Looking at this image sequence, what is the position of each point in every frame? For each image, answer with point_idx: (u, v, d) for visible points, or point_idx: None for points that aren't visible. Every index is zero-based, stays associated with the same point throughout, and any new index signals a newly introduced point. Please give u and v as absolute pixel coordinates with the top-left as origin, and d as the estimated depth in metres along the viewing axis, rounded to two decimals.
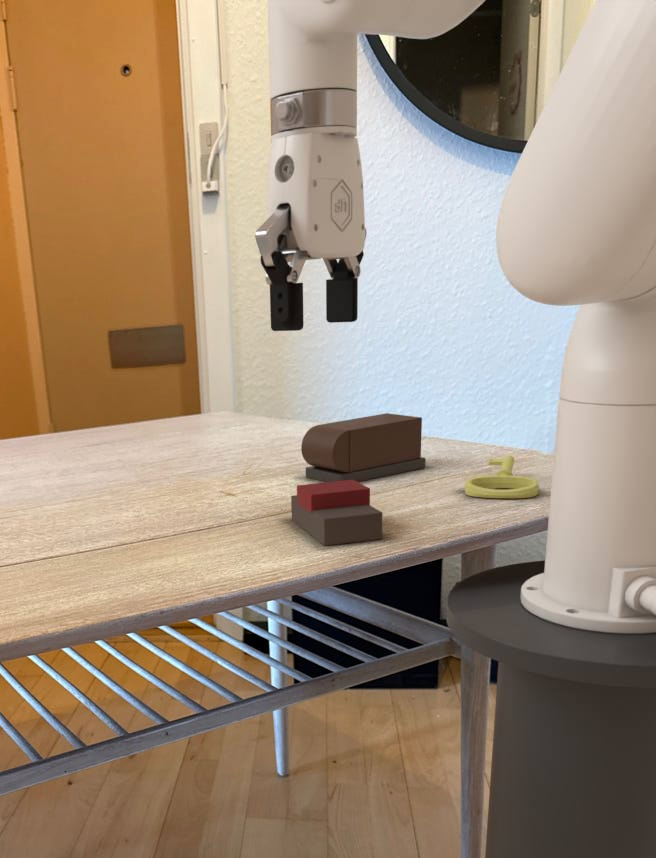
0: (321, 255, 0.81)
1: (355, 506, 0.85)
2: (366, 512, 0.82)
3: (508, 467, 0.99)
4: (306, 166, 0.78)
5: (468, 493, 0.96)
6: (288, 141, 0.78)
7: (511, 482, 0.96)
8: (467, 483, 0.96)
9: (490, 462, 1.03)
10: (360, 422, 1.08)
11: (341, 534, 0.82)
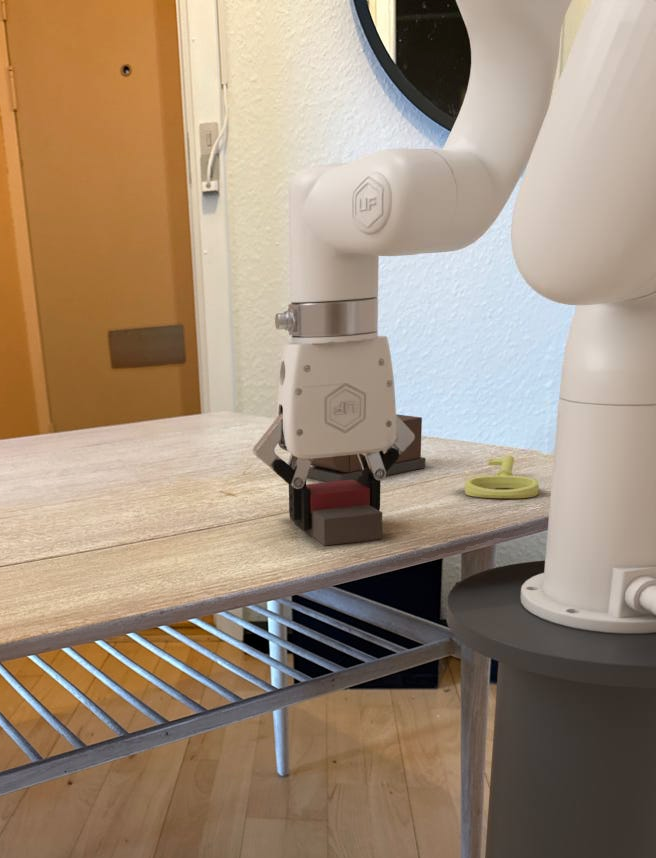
0: (310, 457, 0.82)
1: (355, 506, 0.85)
2: (366, 512, 0.82)
3: (508, 467, 0.99)
4: (291, 375, 0.79)
5: (468, 493, 0.96)
6: (285, 349, 0.80)
7: (511, 482, 0.96)
8: (467, 483, 0.96)
9: (490, 462, 1.03)
10: None
11: (341, 534, 0.82)
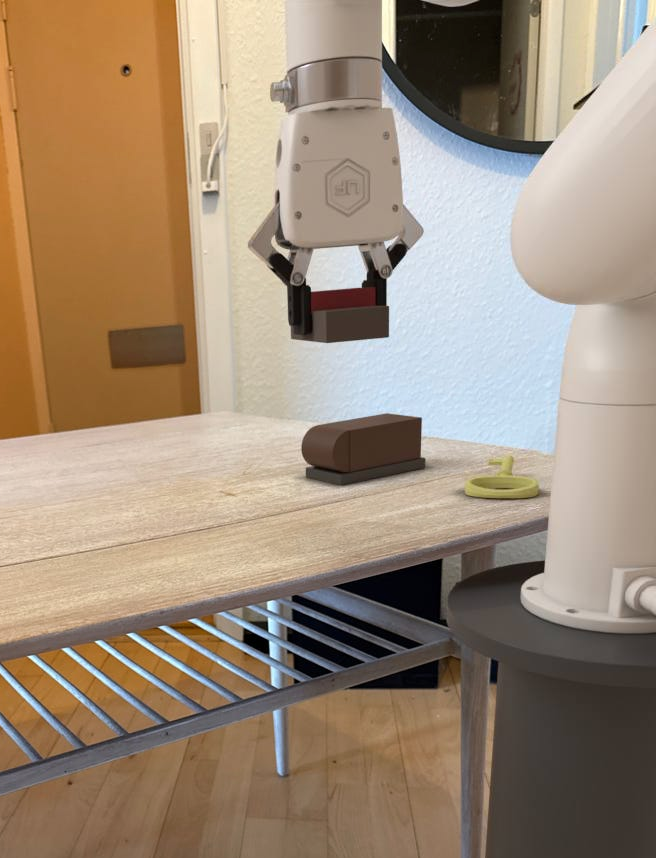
0: (310, 245, 0.75)
1: (359, 306, 0.78)
2: None
3: (508, 467, 0.99)
4: (288, 150, 0.73)
5: (468, 493, 0.96)
6: (282, 124, 0.74)
7: (511, 482, 0.96)
8: (467, 483, 0.96)
9: (490, 462, 1.03)
10: (360, 422, 1.08)
11: (344, 330, 0.75)
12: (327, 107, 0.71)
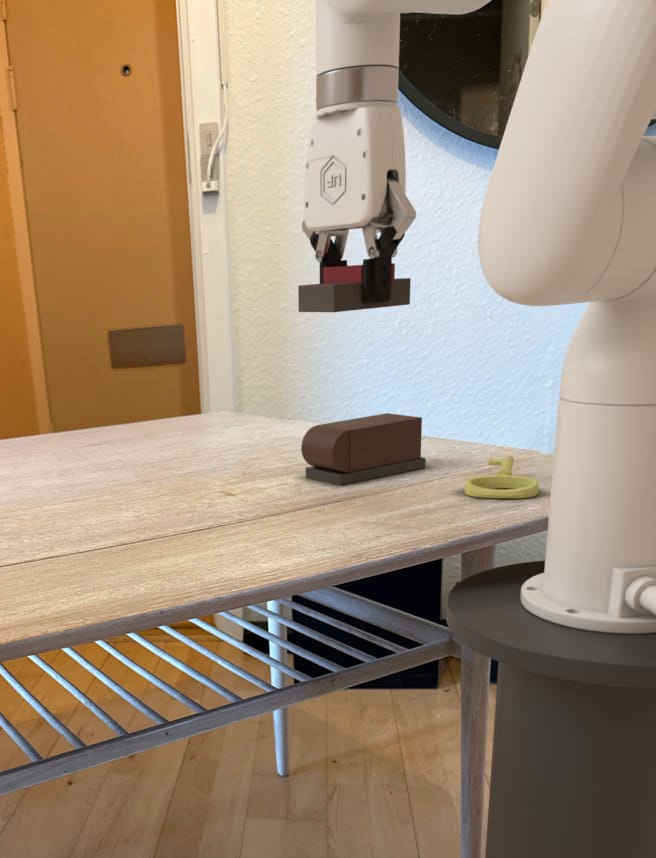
0: (314, 229, 0.91)
1: (348, 282, 0.90)
2: (330, 284, 0.89)
3: (508, 467, 0.99)
4: None
5: (468, 493, 0.96)
6: None
7: (511, 482, 0.96)
8: (467, 483, 0.96)
9: (490, 462, 1.03)
10: (360, 422, 1.08)
11: (308, 302, 0.91)
12: (317, 115, 0.86)
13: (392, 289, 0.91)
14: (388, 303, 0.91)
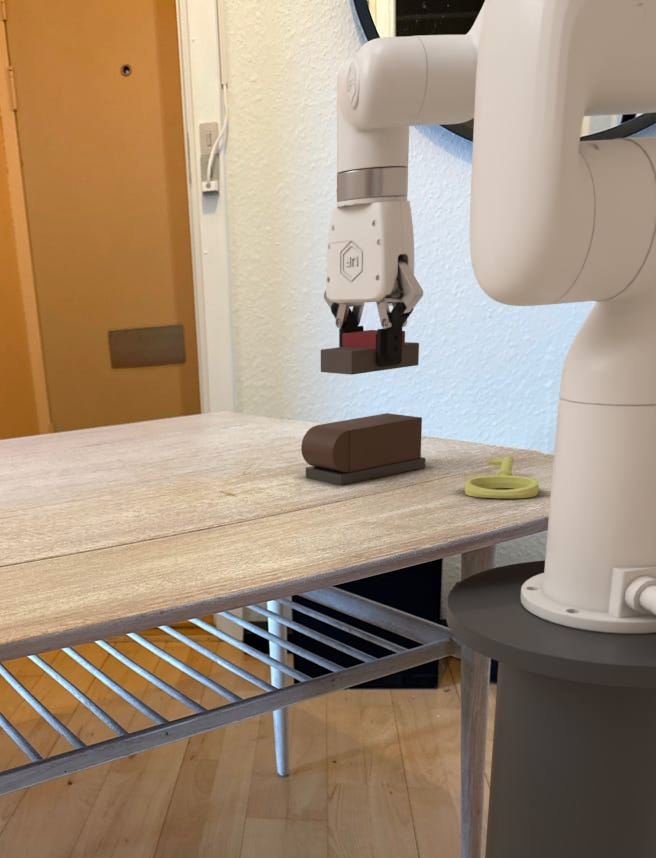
0: (334, 301, 1.05)
1: (364, 348, 1.03)
2: (349, 350, 1.02)
3: (507, 467, 0.99)
4: None
5: (468, 493, 0.96)
6: None
7: (511, 482, 0.96)
8: (467, 483, 0.96)
9: (490, 462, 1.03)
10: (360, 422, 1.08)
11: (329, 364, 1.04)
12: (337, 206, 0.99)
13: (403, 353, 1.04)
14: (399, 365, 1.05)
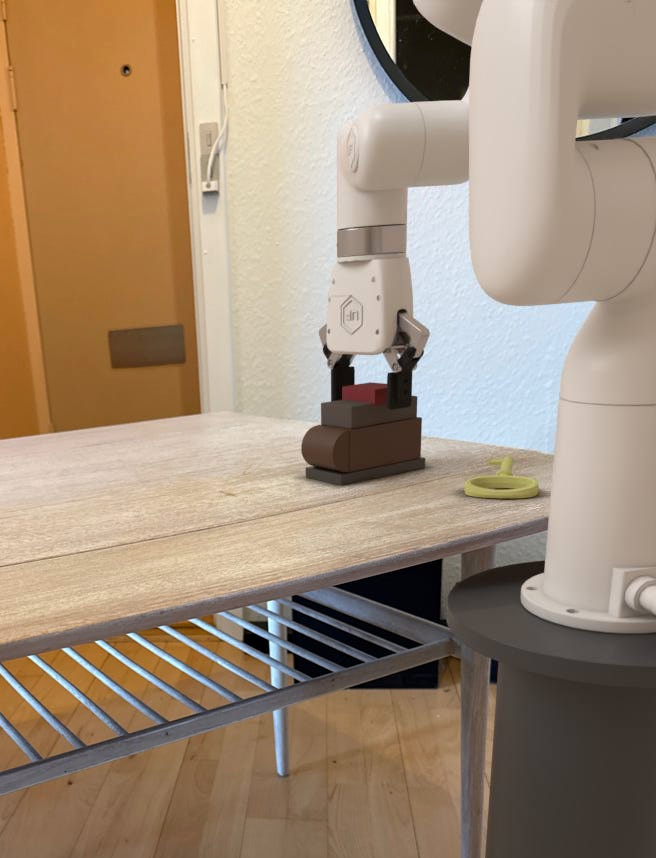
0: (335, 352, 1.06)
1: (363, 402, 1.05)
2: (348, 405, 1.04)
3: (507, 467, 0.99)
4: None
5: (468, 493, 0.96)
6: None
7: (511, 482, 0.96)
8: (467, 483, 0.96)
9: (489, 462, 1.03)
10: None
11: (329, 418, 1.06)
12: (337, 261, 1.01)
13: None
14: (398, 418, 1.07)
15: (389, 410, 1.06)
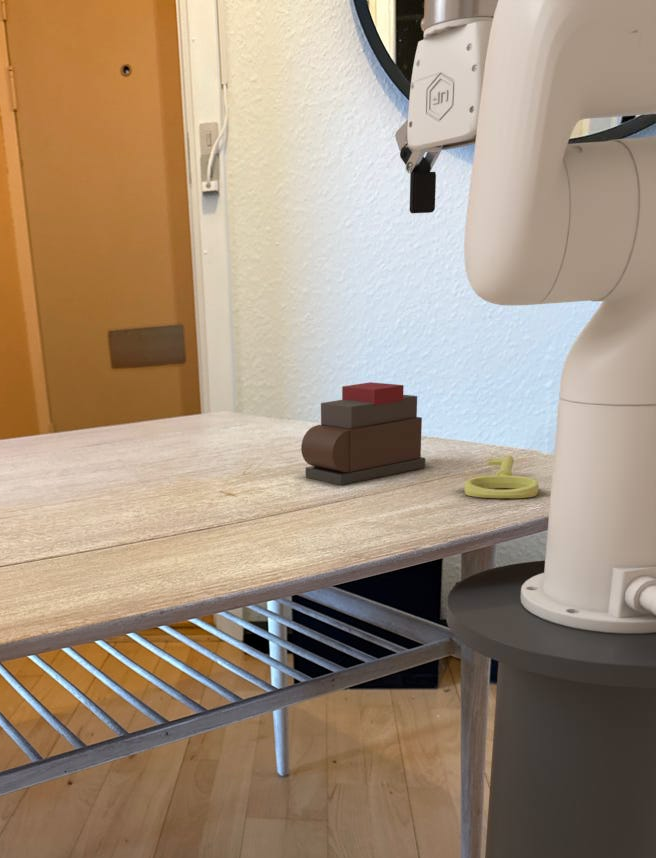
0: (417, 147, 0.95)
1: (363, 402, 1.05)
2: (348, 405, 1.04)
3: (507, 467, 0.99)
4: None
5: (468, 493, 0.96)
6: None
7: (511, 482, 0.96)
8: (467, 483, 0.96)
9: (489, 462, 1.03)
10: None
11: (329, 418, 1.06)
12: (425, 34, 0.90)
13: (401, 406, 1.06)
14: (398, 418, 1.07)
15: (389, 410, 1.06)
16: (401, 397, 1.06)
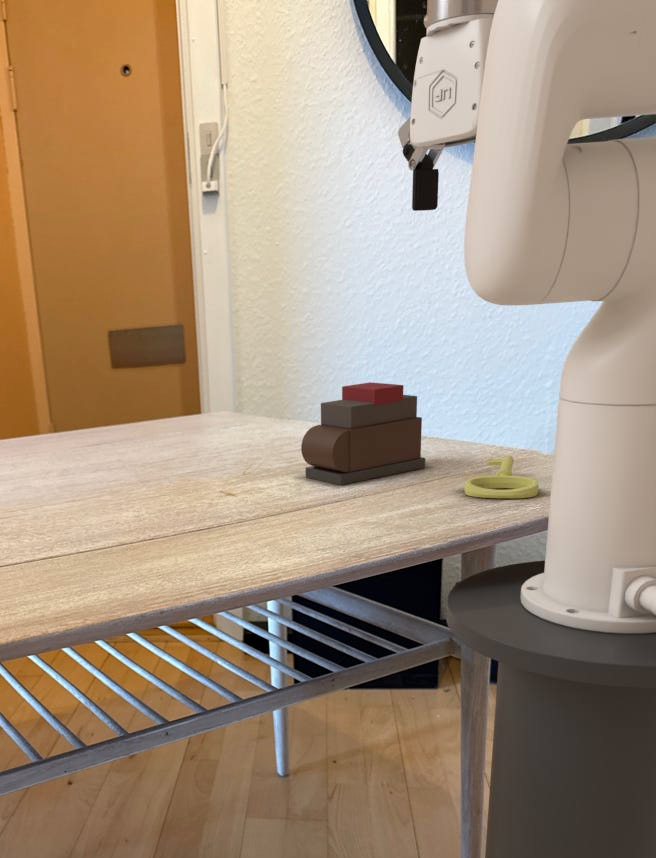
0: (420, 145, 0.95)
1: (363, 402, 1.05)
2: (348, 405, 1.04)
3: (507, 467, 0.99)
4: None
5: (468, 493, 0.96)
6: None
7: (511, 482, 0.96)
8: (467, 483, 0.96)
9: (489, 462, 1.03)
10: None
11: (329, 418, 1.07)
12: (428, 31, 0.90)
13: (401, 406, 1.06)
14: (398, 418, 1.07)
15: (389, 410, 1.06)
16: (401, 397, 1.06)
